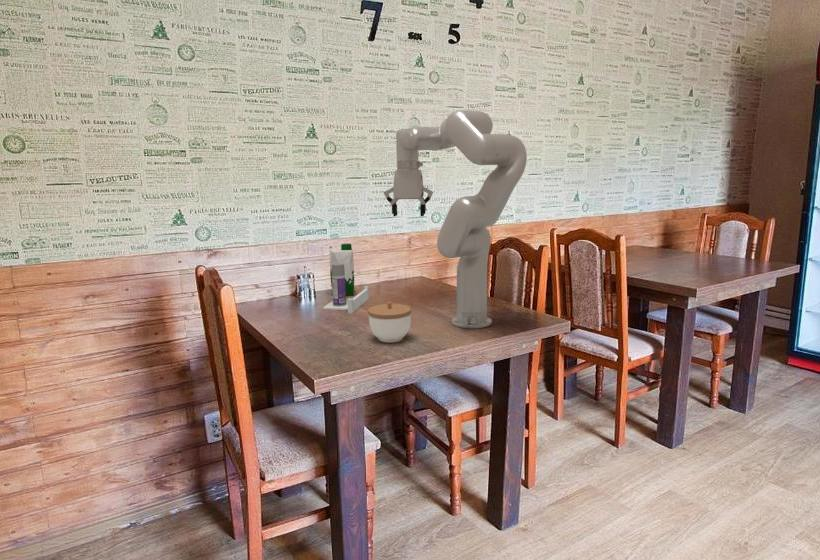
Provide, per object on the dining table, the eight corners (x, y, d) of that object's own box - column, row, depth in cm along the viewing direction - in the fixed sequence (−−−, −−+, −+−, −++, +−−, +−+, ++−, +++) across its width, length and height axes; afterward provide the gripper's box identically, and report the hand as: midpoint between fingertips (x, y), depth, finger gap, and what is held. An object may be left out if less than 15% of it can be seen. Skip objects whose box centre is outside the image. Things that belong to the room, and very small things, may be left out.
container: (346, 303, 203) (344, 262, 200) (345, 306, 198) (344, 265, 195) (333, 303, 202) (331, 263, 199) (332, 306, 198) (330, 265, 195)
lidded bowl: (360, 339, 162) (358, 302, 160) (391, 329, 171) (390, 295, 169) (389, 348, 154) (387, 310, 151) (420, 338, 162) (420, 301, 160)
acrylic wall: (352, 313, 190) (351, 299, 189) (347, 313, 191) (347, 299, 190) (369, 298, 211) (369, 285, 210) (365, 298, 211) (364, 285, 210)
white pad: (347, 310, 195) (347, 308, 195) (323, 309, 197) (322, 307, 197) (354, 303, 204) (354, 302, 204) (331, 303, 206) (331, 301, 206)
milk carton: (356, 296, 216) (354, 245, 212) (333, 298, 213) (331, 246, 209) (352, 291, 224) (350, 242, 220) (329, 293, 221) (327, 243, 217)
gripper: (434, 165, 192) (434, 214, 195) (386, 166, 195) (387, 215, 199) (430, 165, 184) (431, 217, 188) (380, 166, 188) (382, 217, 192)
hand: (408, 215), depth 193 cm, fingers open, 9 cm apart
